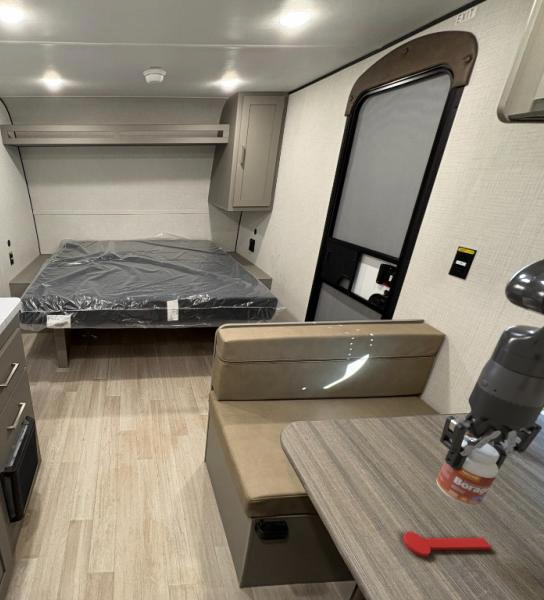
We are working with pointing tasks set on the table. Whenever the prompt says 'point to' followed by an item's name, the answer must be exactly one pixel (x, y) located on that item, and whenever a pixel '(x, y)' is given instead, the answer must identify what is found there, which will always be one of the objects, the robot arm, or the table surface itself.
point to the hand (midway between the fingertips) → (471, 465)
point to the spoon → (442, 544)
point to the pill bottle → (470, 476)
